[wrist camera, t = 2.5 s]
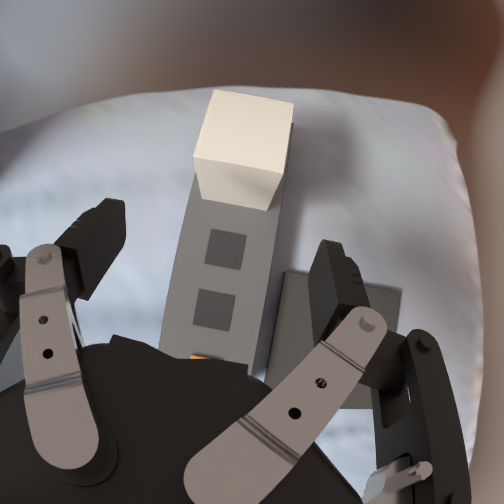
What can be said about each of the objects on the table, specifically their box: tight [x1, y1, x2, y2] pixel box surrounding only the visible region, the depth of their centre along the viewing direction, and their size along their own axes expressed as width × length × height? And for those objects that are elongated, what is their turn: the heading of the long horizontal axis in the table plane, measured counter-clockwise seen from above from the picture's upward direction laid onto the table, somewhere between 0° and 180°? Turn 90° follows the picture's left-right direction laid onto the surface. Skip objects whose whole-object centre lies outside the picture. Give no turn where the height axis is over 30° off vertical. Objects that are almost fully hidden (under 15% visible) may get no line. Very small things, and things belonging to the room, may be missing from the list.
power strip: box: [158, 123, 293, 376], centre depth 23 cm, size 7×22×3 cm, turn 170°
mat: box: [264, 272, 401, 409], centre depth 24 cm, size 11×11×1 cm
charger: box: [193, 89, 294, 211], centre depth 21 cm, size 5×5×9 cm
